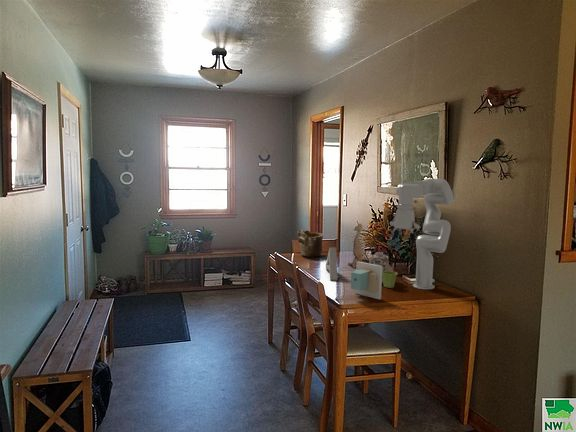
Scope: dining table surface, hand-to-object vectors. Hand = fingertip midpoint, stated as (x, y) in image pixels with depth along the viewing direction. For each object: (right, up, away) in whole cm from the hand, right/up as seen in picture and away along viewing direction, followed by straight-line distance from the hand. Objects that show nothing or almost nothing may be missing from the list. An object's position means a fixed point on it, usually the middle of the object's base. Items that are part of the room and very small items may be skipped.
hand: (403, 239), depth 236 cm
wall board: (-20, -32, +4) cm, 37 cm away
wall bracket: (-34, -27, +56) cm, 71 cm away
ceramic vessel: (-43, -20, +119) cm, 128 cm away
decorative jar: (-5, -29, +42) cm, 51 cm away
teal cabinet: (-23, -26, 0) cm, 35 cm away
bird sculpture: (-12, -24, +83) cm, 87 cm away
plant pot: (-2, -30, +27) cm, 41 cm away
